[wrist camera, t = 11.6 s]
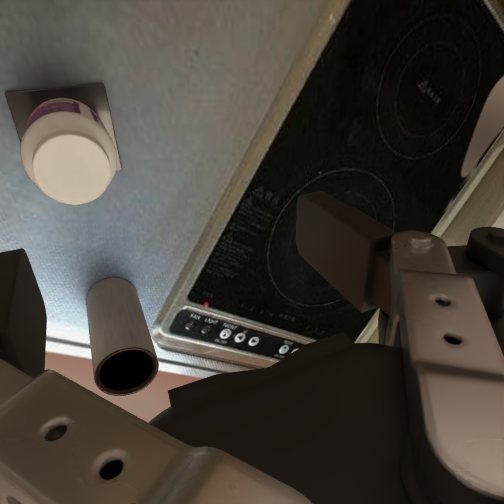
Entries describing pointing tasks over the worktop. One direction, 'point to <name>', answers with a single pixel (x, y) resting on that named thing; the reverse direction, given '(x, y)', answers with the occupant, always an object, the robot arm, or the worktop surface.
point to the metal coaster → (86, 94)
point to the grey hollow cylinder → (119, 338)
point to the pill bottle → (68, 151)
